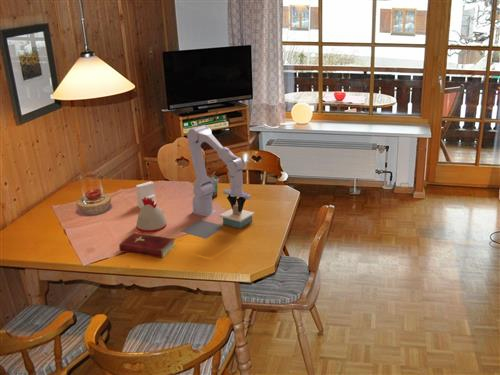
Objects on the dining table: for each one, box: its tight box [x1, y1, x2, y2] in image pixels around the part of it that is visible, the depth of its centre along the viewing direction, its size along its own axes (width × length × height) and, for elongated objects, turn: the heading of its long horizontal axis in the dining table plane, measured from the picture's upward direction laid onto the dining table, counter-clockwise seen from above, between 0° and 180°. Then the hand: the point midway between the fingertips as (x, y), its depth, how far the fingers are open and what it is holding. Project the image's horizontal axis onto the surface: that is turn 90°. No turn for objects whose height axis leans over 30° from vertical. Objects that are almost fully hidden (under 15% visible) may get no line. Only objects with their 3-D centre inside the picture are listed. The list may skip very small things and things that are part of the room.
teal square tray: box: [222, 215, 253, 230], centre depth 270 cm, size 10×10×4 cm
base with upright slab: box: [136, 180, 157, 210], centre depth 291 cm, size 9×9×12 cm
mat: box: [180, 219, 227, 240], centre depth 265 cm, size 15×15×1 cm
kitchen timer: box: [136, 197, 168, 234], centre depth 266 cm, size 14×14×15 cm
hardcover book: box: [119, 232, 176, 259], centre depth 248 cm, size 12×21×4 cm, turn 69°
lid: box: [219, 203, 256, 222], centre depth 268 cm, size 12×12×5 cm
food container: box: [209, 174, 220, 200], centre depth 302 cm, size 12×6×10 cm, turn 168°
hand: (237, 210), depth 268 cm, fingers closed on lid, 3 cm apart
